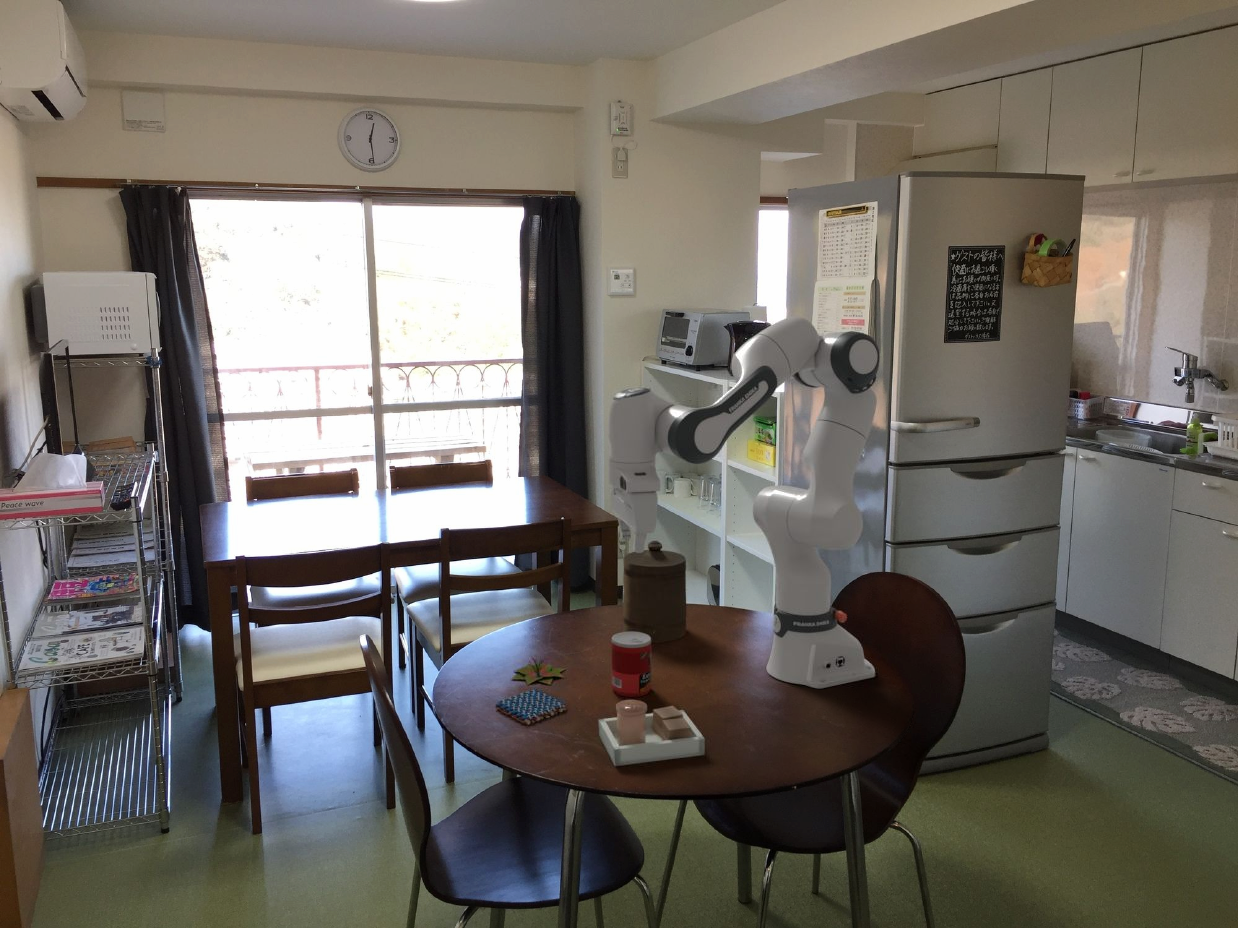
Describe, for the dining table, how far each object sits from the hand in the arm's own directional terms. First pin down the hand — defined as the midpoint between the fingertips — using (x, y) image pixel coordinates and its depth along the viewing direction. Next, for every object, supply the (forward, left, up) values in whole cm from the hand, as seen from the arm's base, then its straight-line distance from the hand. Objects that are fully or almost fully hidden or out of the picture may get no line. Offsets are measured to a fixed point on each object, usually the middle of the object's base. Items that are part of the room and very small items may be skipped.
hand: (631, 545), depth 185 cm
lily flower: (+16, -16, -32) cm, 39 cm away
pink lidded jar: (+5, +20, -30) cm, 37 cm away
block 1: (-2, +17, -30) cm, 35 cm away
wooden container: (-15, -35, -31) cm, 49 cm away
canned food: (-1, -4, -31) cm, 32 cm away
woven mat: (+20, 0, -32) cm, 38 cm away
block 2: (-2, +22, -30) cm, 38 cm away
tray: (+2, +20, -31) cm, 37 cm away
